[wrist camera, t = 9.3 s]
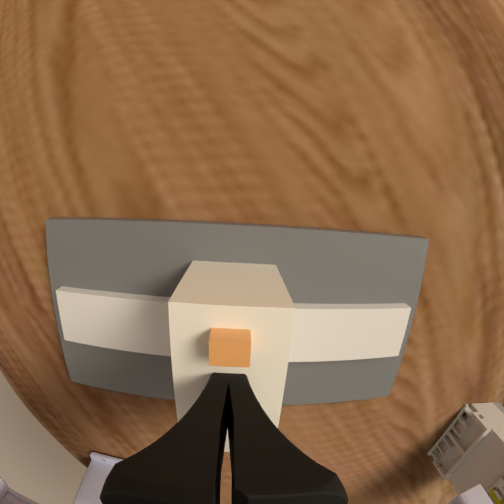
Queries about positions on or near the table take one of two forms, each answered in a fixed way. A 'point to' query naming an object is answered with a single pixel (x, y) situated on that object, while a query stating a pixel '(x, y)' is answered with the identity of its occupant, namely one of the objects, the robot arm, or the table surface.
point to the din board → (234, 251)
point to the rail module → (231, 331)
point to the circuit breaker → (474, 450)
